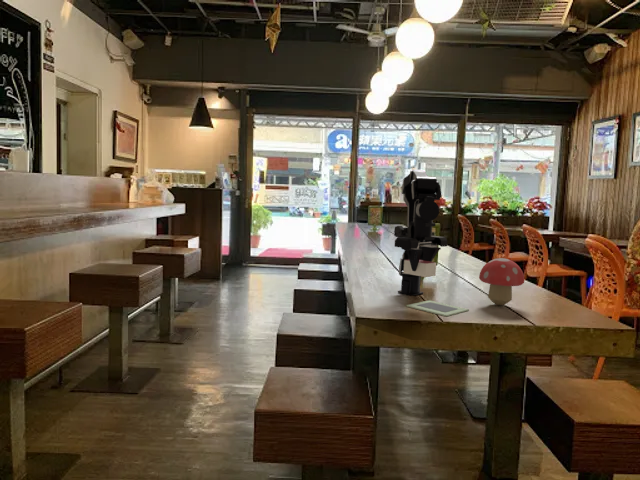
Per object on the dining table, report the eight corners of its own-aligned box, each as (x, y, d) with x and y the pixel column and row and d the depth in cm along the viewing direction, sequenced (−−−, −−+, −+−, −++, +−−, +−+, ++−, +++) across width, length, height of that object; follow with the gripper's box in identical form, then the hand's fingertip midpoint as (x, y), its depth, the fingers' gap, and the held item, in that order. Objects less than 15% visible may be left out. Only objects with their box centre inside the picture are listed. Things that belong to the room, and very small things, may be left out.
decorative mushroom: (475, 307, 154) (479, 258, 152) (478, 298, 166) (482, 254, 164) (522, 312, 149) (526, 263, 147) (521, 303, 161) (525, 257, 160)
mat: (429, 301, 159) (429, 299, 159) (468, 310, 148) (468, 308, 148) (406, 306, 150) (406, 304, 150) (446, 316, 140) (446, 314, 140)
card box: (435, 275, 150) (436, 262, 149) (425, 277, 146) (425, 263, 146) (414, 271, 156) (414, 258, 155) (403, 273, 152) (404, 259, 152)
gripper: (420, 217, 161) (417, 264, 163) (382, 217, 149) (379, 268, 151) (449, 219, 153) (446, 269, 155) (411, 219, 141) (408, 274, 142)
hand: (419, 270), depth 151 cm, fingers closed on card box, 5 cm apart
